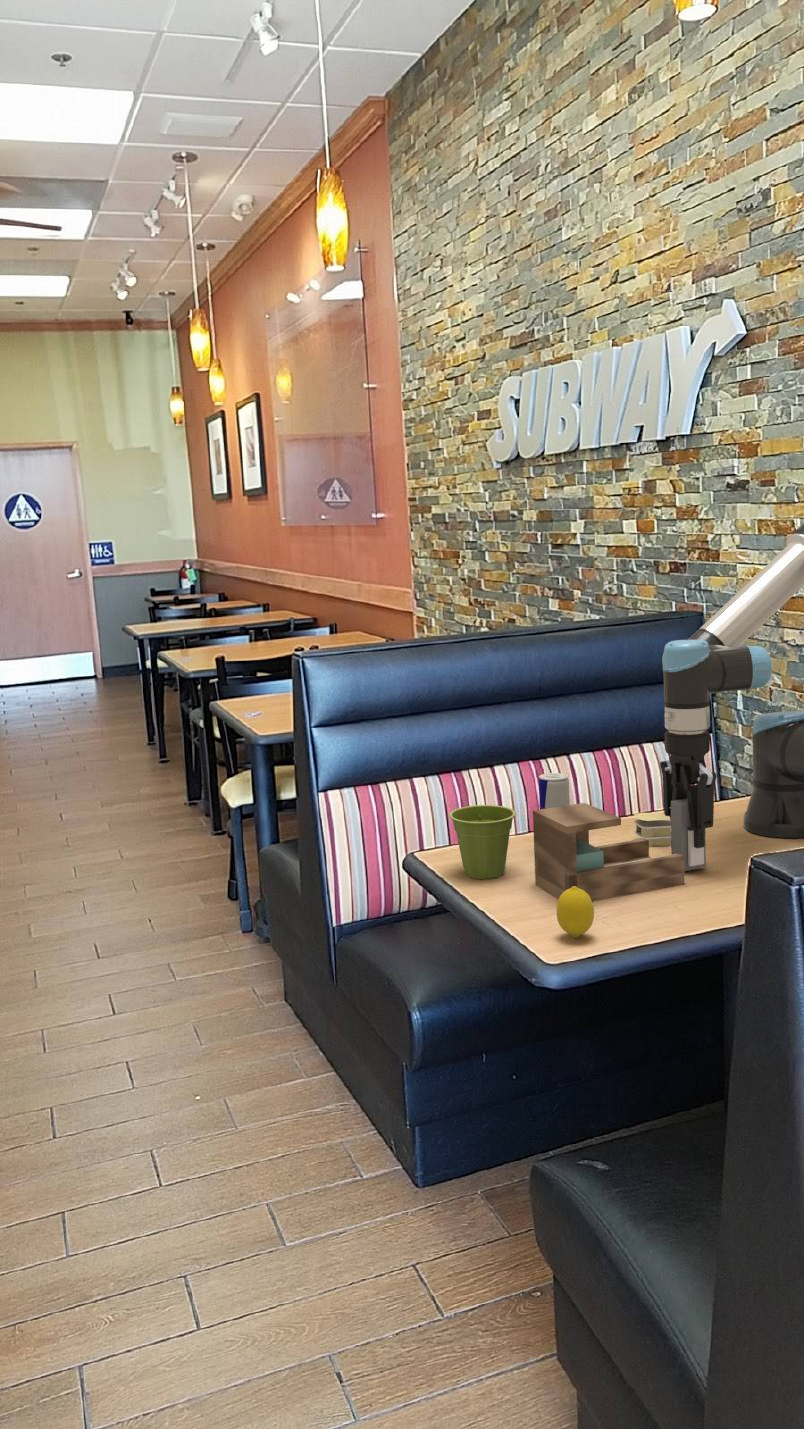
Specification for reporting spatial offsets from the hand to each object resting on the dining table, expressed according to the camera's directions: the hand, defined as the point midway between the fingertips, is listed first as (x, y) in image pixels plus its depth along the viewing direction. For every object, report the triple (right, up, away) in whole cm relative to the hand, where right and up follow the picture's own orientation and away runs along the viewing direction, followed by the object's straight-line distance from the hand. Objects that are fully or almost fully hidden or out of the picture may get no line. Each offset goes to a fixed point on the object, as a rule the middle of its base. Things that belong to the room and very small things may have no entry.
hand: (688, 861), depth 193 cm
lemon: (-24, -8, -28) cm, 38 cm away
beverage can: (-21, -1, +15) cm, 26 cm away
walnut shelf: (-15, -3, -5) cm, 16 cm away
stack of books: (-2, +1, +18) cm, 18 cm away
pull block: (-10, -2, -4) cm, 11 cm away
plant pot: (-35, -3, +5) cm, 36 cm away
